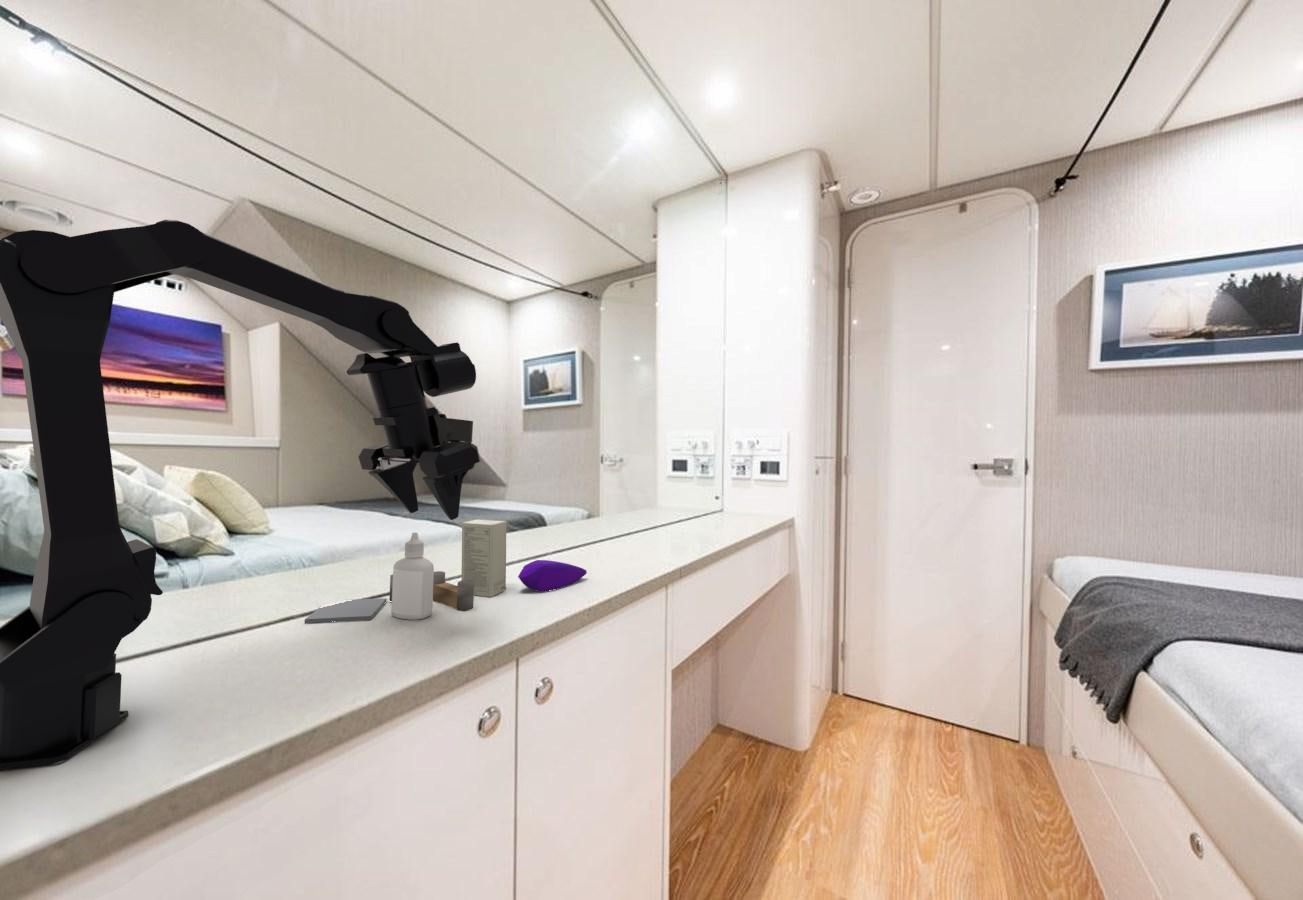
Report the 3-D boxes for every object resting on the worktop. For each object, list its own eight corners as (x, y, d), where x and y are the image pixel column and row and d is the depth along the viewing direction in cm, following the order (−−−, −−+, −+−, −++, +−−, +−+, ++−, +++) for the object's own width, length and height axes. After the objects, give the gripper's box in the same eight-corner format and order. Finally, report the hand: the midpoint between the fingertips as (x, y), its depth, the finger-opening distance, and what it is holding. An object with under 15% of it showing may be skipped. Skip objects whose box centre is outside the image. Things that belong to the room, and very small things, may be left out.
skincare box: (506, 590, 81) (508, 520, 81) (490, 598, 77) (493, 524, 77) (475, 586, 83) (477, 518, 83) (458, 593, 78) (461, 521, 79)
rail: (377, 615, 67) (378, 587, 67) (392, 597, 75) (393, 572, 75) (472, 610, 71) (473, 583, 71) (477, 593, 79) (478, 570, 79)
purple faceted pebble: (595, 561, 89) (528, 565, 78) (592, 587, 89) (524, 595, 78) (579, 557, 92) (512, 560, 81) (576, 582, 92) (509, 588, 81)
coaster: (304, 623, 63) (304, 619, 63) (327, 604, 71) (327, 600, 71) (370, 620, 65) (371, 615, 65) (386, 602, 73) (386, 598, 73)
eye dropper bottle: (402, 624, 64) (406, 537, 64) (388, 614, 68) (391, 531, 68) (435, 617, 67) (438, 534, 67) (419, 607, 71) (422, 528, 71)
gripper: (499, 389, 62) (523, 498, 66) (417, 394, 72) (443, 489, 76) (422, 408, 53) (456, 533, 57) (341, 411, 63) (375, 517, 67)
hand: (433, 515), depth 64 cm, fingers open, 9 cm apart
